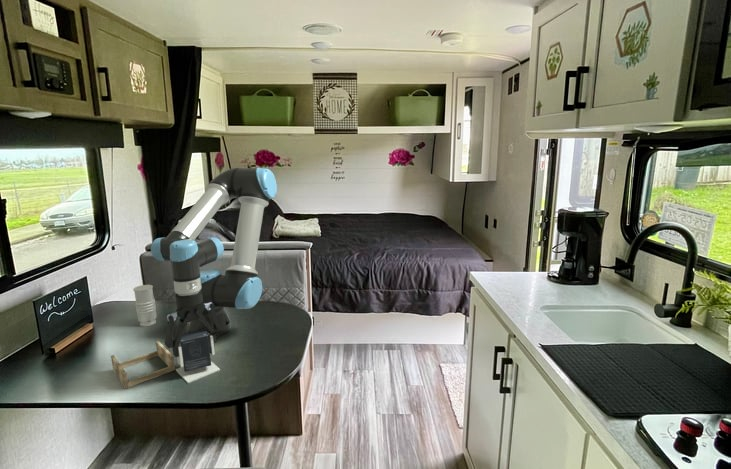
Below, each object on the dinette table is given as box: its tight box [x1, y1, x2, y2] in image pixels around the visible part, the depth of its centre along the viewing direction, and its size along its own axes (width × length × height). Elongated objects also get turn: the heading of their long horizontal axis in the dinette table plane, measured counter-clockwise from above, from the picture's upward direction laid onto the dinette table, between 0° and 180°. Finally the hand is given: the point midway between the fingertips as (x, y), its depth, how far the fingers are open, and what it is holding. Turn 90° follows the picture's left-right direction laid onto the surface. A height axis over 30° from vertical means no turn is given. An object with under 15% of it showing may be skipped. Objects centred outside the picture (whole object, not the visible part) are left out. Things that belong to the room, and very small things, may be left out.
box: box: [179, 329, 212, 372], centre depth 124 cm, size 8×6×11 cm
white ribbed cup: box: [132, 284, 158, 327], centre depth 159 cm, size 7×7×15 cm
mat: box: [175, 361, 221, 384], centre depth 126 cm, size 10×10×1 cm
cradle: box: [110, 340, 176, 390], centre depth 126 cm, size 14×14×5 cm
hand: (196, 358), depth 125 cm, fingers closed on box, 9 cm apart
